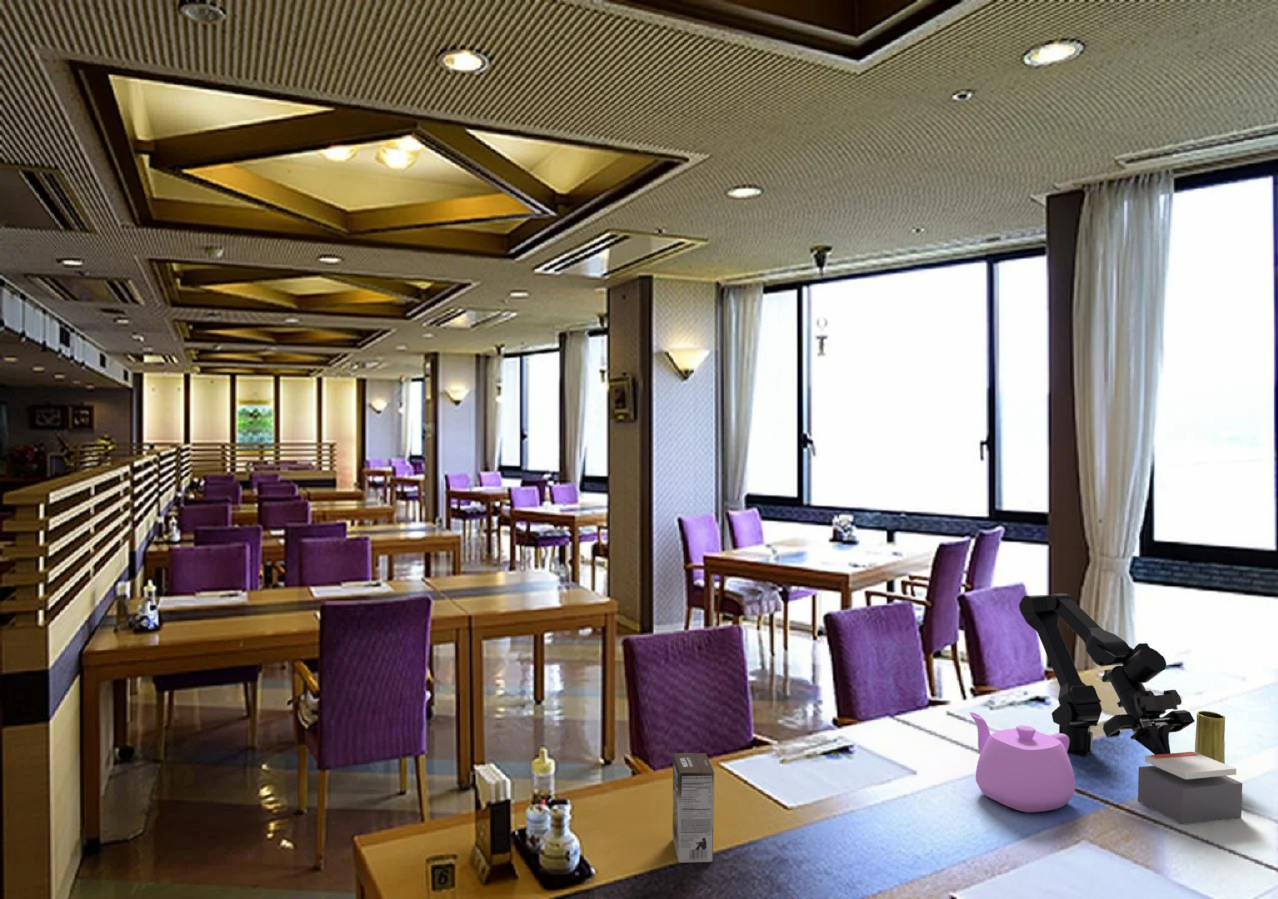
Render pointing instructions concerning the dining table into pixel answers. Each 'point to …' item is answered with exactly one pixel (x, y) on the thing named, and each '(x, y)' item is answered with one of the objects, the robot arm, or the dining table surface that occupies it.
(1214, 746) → the vase
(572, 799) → the dining table surface
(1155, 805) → the switch box
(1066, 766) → the teapot
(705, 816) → the coffee box
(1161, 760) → the rocker
